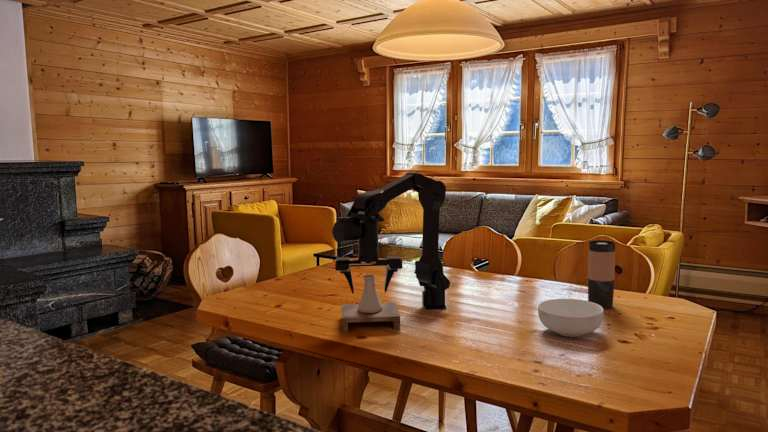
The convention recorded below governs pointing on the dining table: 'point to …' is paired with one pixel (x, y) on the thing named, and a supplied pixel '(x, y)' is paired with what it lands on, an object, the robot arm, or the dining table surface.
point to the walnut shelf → (370, 315)
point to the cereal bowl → (570, 316)
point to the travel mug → (601, 273)
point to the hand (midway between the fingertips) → (369, 292)
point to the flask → (369, 297)
